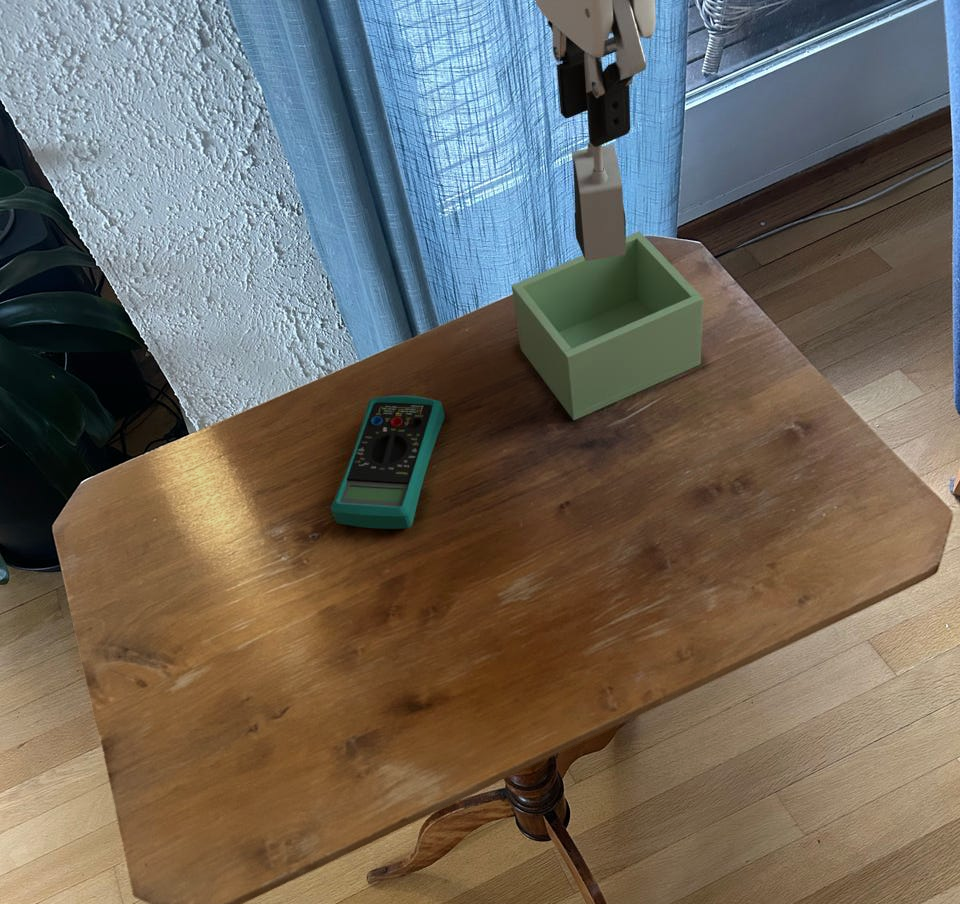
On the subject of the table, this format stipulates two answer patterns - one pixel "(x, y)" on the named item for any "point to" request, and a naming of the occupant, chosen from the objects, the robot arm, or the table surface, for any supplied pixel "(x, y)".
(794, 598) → the table surface
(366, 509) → the digital multimeter
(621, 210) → the padlock
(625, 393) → the holder
